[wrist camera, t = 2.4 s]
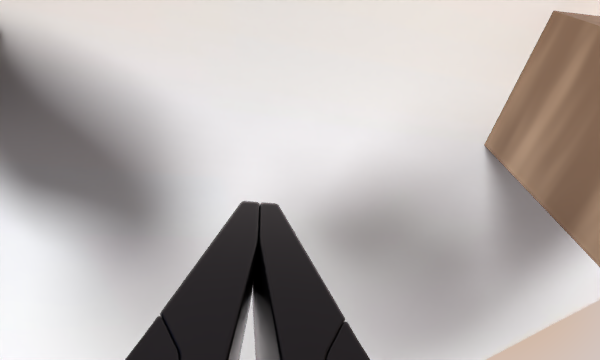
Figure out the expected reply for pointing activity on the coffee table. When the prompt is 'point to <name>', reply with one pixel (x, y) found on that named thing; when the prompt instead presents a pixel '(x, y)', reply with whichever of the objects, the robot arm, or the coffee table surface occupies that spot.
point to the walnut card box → (558, 127)
